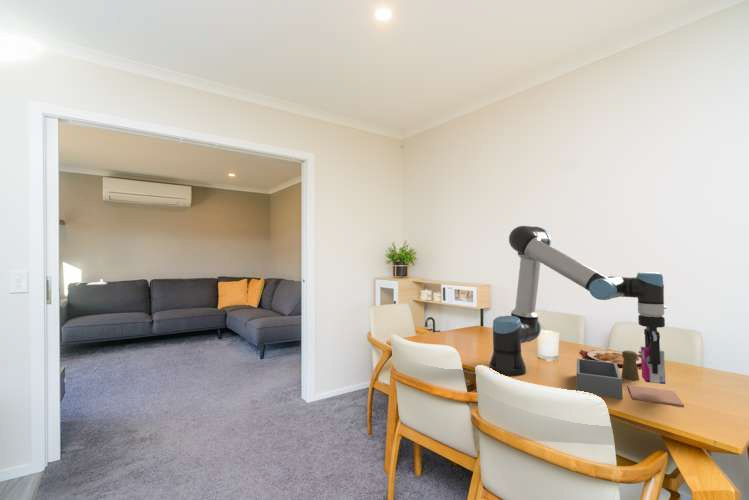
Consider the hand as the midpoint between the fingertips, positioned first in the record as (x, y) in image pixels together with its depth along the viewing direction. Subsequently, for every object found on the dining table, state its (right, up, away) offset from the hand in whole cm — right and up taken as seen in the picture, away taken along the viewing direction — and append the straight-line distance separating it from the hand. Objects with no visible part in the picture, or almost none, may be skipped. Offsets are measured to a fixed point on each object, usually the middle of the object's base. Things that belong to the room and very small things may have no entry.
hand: (653, 379), depth 128 cm
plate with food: (+15, -7, +43) cm, 46 cm away
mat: (0, -6, 0) cm, 6 cm away
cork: (+5, -6, +19) cm, 21 cm away
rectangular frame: (-14, -6, +10) cm, 18 cm away
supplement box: (0, -1, 0) cm, 1 cm away
